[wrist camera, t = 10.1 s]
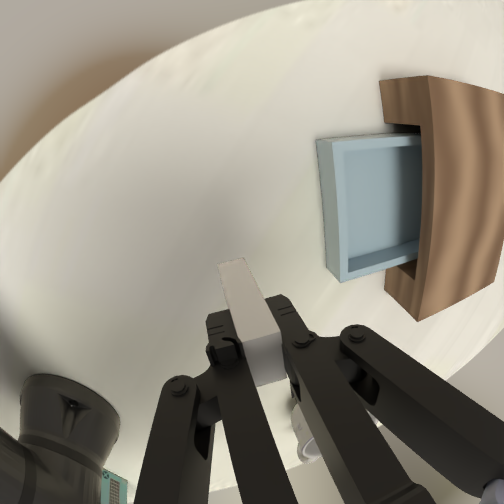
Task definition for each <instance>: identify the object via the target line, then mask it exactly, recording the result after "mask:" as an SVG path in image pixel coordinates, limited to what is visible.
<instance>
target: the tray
mask: <svg viewBox="0 0 504 504" xmlns="http://www.w3.org/2000/svg"><path fill="white" fill-rule="evenodd" d="M316 146H317V154H318V163H319V172H320V182H321V192H322V204H323V216H324V230H325V245H326V265H327V269H328V270H329V271H330V272H331V273H332V274H333V275H334V277H335V278H336V279H337V280H338V281H339V282H340V283H342V282H345V281H348V280H352V279H355V278H358V277H362V276H365V275H368V274H371V273H375V272H378V271H381V270H384V269H387V268H390V267H393V266H396V265H400V264H403V263H406V262H409V261H412V260H415V259H417V258H418V251H419V241H420V228H421V212H422V144H421V133H396V134H376V135H362V136H349V137H339V138H329V139H320V140H316Z"/></svg>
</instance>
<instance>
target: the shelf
mask: <svg viewBox="0 0 504 504" xmlns="http://www.w3.org/2000/svg"><path fill="white" fill-rule="evenodd" d="M379 83H380V90H381V97H382V105H383V114H384V123H398V124H410V125H420V128H421V144H422V212H421V228H420V241H419V251H418V258H417V259H415V260H412V261H409V262H406V263H403V264H400V265H396V266H393V267H390V268H387V269H386V277H385V288H384V290H385V291H386V292H387V293H388V294H390V295H391V296H392V297H393V298H394V299H395V300H396V301H397V302H398V303H399V304H400V305H401V306H402V307H403V308H404V309H405V310H406V311H407V312H408V313H409V314H410V315H411V316H412V317H413V318H414V319H415V320H416V321H417V322H419V321H421V320H423V319H425V318H427V317H429V316H432V315H434V314H436V313H438V312H440V311H442V310H444V309H446V308H448V307H450V306H452V305H454V304H456V303H457V302H459V301H461V300H463V299H465V298H467V297H469V296H470V295H472V294H474V293H476V292H478V291H479V290H481V289H483V288H485V287H486V286H488V285H490V284H491V283H493V282H494V280H495V276H496V272H497V268H498V264H499V260H500V255H501V251H502V246H503V241H504V94H502V93H499V92H496V91H492V90H489V89H486V88H482V87H478V86H475V85H471V84H467V83H462V82H458V81H454V80H449V79H444V78H439V77H433V76H428V75H427V76H416V77H406V78H398V79H390V80H383V81H379Z"/></svg>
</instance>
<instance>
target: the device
mask: <svg viewBox="0 0 504 504" xmlns="http://www.w3.org/2000/svg"><path fill="white" fill-rule="evenodd" d="M101 504H127V480H125V479H123V478H121V477H119V476H117V475H115V474H113V473H111V472H109V471H107V470H105V469H102V481H101Z"/></svg>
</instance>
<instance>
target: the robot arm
mask: <svg viewBox="0 0 504 504" xmlns="http://www.w3.org/2000/svg"><path fill="white" fill-rule="evenodd" d="M217 266H218V270H219V274H220V278H221V282H222V286H223V290H224V294H225V298H226V302H227V306H228V309H227V310H223V311H219V312H215V313H211V314H209V315H208V317H207V320H206V327H207V333H208V339H209V343H208V345H207V346H206V354H207V356H208V359H209V361H210V364H211V365H210V367H209V368H208V370H206V371H205V372H204V373H203V374H201V375H199V376H197V377H195V378H191V377H189V376H185V375H180V376H175V377H173V378H171V379H169V380H168V381H167V382H166V383H165V384H164V386H163V388H162V391H161V395H160V398H159V402H158V405H157V409H156V413H155V417H154V420H153V424H152V428H151V432H150V436H149V440H148V444H147V448H146V452H145V456H144V460H143V464H142V468H141V472H140V477H139V481H138V486H137V490H136V495H135V499H134V504H208V494H209V483H210V473H211V462H212V452H213V442H214V433H215V423H217V422H218V421H220V420H222V422H223V426H224V431H225V435H226V440H227V444H228V448H229V452H230V457H231V461H232V465H233V469H234V473H235V477H236V481H237V484H238V488H239V492H240V496H241V499H242V503H243V504H298V502H297V499H296V497H295V494H294V491H293V489H292V486H291V484H290V481H289V479H288V476H287V473H286V471H285V468H284V465H283V463H282V460H281V457H280V454H279V452H278V449H277V446H276V444H275V441H274V438H273V435H272V432H271V430H270V427H269V424H268V421H267V418H266V415H265V413H264V410H263V407H262V404H261V401H260V398H259V395H258V392H257V389H256V387H259V386H262V385H266V384H269V383H273V382H276V381H279V380H282V379H286V378H287V375H288V377H289V379H290V386H291V394H292V398H293V397H295V398H296V400H297V402H298V405H299V407H300V409H301V411H302V413H303V416H304V418H305V420H306V422H307V424H308V427H309V429H310V431H311V433H312V435H313V437H314V440H315V442H316V444H317V446H318V448H319V450H320V452H321V455H322V457H323V459H324V461H325V463H326V465H327V467H328V469H329V472H330V474H331V476H332V478H333V480H334V482H335V484H336V486H337V488H338V491H339V493H340V494H341V497H342V499H343V501H344V503H345V504H436V503H435V501H434V500H433V498H432V497H431V495H430V493H429V492H428V491H427V490H426V488H424V487H423V486H422V485H419V484H416V483H414V482H412V481H411V479H410V478H409V477H408V475H407V473H406V472H405V470H404V469H403V467H402V465H401V464H400V462H399V461H398V459H397V458H396V456H395V454H394V453H393V451H392V450H391V448H390V447H389V445H388V443H387V442H386V440H385V439H384V437H383V435H382V434H381V432H380V431H379V429H378V428H377V426H376V424H375V423H374V421H373V420H372V418H371V417H370V415H369V414H368V412H367V411H369V412H370V413H371V414H372V415H373V416H374V417H375V418H376V419H377V420H379V421H380V422H381V423H382V424H383V425H384V426H385V427H386V428H388V429H389V430H390V431H391V432H392V433H393V434H394V435H396V436H397V437H398V438H399V439H400V440H401V441H402V442H404V443H405V444H406V445H407V446H408V447H409V448H411V449H412V450H413V451H414V452H415V453H416V454H418V455H419V456H420V457H421V458H422V459H423V460H425V461H426V462H427V463H428V464H430V465H431V466H432V467H433V468H434V469H435V470H437V471H438V472H439V473H440V474H441V475H443V476H444V477H445V478H446V479H448V480H449V481H450V482H451V483H453V484H454V485H455V486H456V487H458V488H459V489H461V490H462V491H464V492H466V493H468V494H470V495H472V496H475V497H478V498H481V501H480V503H479V504H504V422H503V421H502V420H500V419H499V418H497V417H496V416H495V415H493V414H492V413H490V412H489V411H488V410H486V409H485V408H483V407H482V406H480V405H479V404H478V403H476V402H475V401H473V400H472V399H470V398H469V397H468V396H466V395H465V394H463V393H462V392H460V391H459V390H457V389H456V388H455V387H453V386H452V385H450V384H449V383H448V382H446V381H445V380H443V379H442V378H440V377H439V376H438V375H436V374H435V373H433V372H432V371H430V370H429V369H427V368H426V367H425V366H423V365H422V364H420V363H419V362H417V361H416V360H415V359H413V358H412V357H410V356H409V355H407V354H406V353H404V352H403V351H402V350H400V349H399V348H397V347H396V346H394V345H393V344H391V343H390V342H389V341H387V340H386V339H384V338H383V337H381V336H380V335H378V334H377V333H376V332H374V331H373V330H371V329H370V328H368V327H366V326H364V325H358V324H357V325H350V326H348V327H345V328H344V329H343V330H342V331H341V334H340V336H336V337H319V336H318V335H317V334H316V333H315V332H312V331H310V330H308V328H307V327H306V325H305V323H304V322H303V320H302V319H301V317H300V316H299V314H298V312H296V309H295V308H294V306H293V305H292V303H291V301H290V300H289V299H288V298H287V297H285V296H283V295H281V294H280V295H277V296H273V297H269V298H266V299H264V297H263V295H262V293H261V291H260V289H259V287H258V285H257V283H256V281H255V279H254V277H253V275H252V273H251V271H250V269H249V267H248V265H247V263H246V261H245V259H244V258H240V259H236V260H232V261H228V262H224V263H220V264H217ZM286 372H287V375H286ZM20 405H21V409H20V434H19V438H18V441H17V440H16V439H14V438H13V437H12V436H11V435H9V434H8V433H7V432H6V431H4V430H3V429H2V428H1V427H0V504H101V481H102V469H103V466H104V464H105V462H106V460H107V458H108V456H109V454H110V452H111V450H112V448H113V445H114V444H115V443H116V441H117V440H118V436H119V428H120V420H119V417H118V415H117V413H116V411H115V410H114V409H113V408H112V406H111V405H110V404H109V403H107V402H106V401H105V400H104V399H103V398H101V397H100V396H99V395H97V394H96V393H94V392H93V391H91V390H89V389H88V388H86V387H84V386H82V385H80V384H78V383H75V382H73V381H70V380H68V379H65V378H62V377H58V376H54V375H47V374H39V375H34V376H31V377H29V378H28V379H27V380H26V381H25V383H24V386H23V388H22V391H21V393H20Z"/></svg>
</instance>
